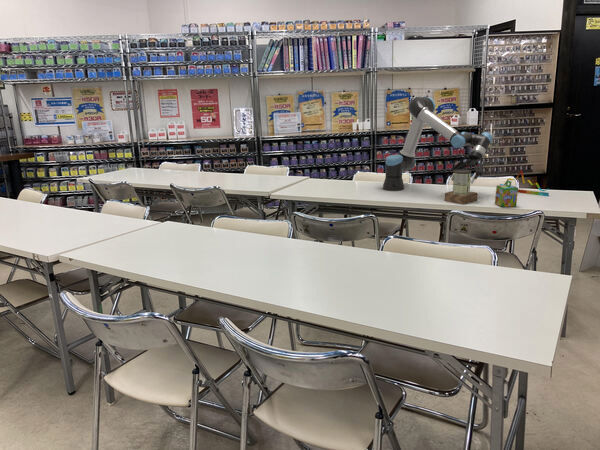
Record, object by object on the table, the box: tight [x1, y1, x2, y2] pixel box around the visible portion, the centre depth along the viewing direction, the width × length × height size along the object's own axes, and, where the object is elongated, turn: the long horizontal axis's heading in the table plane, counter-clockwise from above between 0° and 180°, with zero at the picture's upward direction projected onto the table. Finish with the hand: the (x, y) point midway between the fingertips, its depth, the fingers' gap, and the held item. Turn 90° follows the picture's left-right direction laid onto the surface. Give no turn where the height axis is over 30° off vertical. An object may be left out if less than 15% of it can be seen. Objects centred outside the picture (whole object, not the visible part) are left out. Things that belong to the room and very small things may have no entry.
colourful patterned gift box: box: [494, 180, 519, 208], centre depth 277 cm, size 9×9×15 cm
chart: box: [499, 170, 550, 197], centre depth 306 cm, size 30×3×15 cm, turn 46°
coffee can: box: [452, 168, 472, 195], centre depth 290 cm, size 10×10×14 cm
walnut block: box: [444, 190, 479, 205], centre depth 292 cm, size 14×14×5 cm
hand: (461, 181), depth 289 cm, fingers open, 13 cm apart
